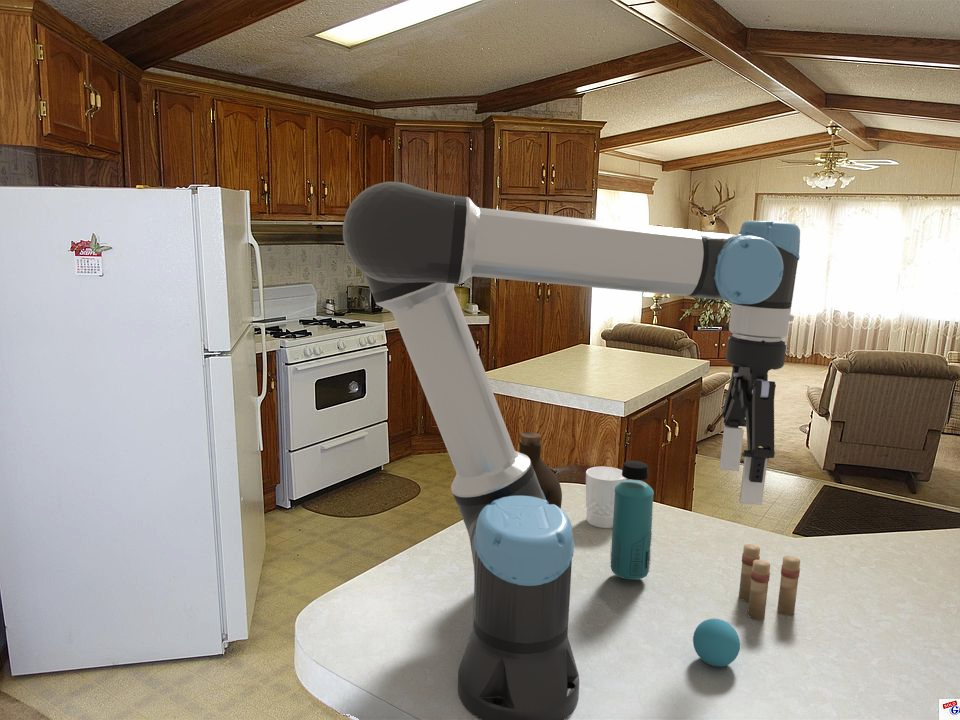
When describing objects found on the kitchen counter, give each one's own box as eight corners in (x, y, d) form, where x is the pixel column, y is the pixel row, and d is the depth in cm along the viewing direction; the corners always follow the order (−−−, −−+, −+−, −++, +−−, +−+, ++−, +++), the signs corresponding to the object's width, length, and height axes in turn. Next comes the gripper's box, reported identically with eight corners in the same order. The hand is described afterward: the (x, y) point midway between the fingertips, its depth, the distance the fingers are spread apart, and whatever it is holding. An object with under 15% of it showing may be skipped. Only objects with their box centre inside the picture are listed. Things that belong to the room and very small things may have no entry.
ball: (710, 679, 95) (714, 637, 94) (682, 654, 101) (685, 614, 99) (747, 671, 97) (752, 629, 96) (718, 646, 103) (722, 606, 101)
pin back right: (785, 616, 111) (791, 564, 109) (773, 608, 113) (778, 556, 112) (798, 613, 112) (804, 561, 110) (786, 605, 114) (792, 554, 113)
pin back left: (745, 602, 115) (750, 552, 113) (734, 594, 117) (739, 545, 115) (758, 600, 116) (764, 549, 114) (747, 592, 118) (752, 542, 116)
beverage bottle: (649, 590, 118) (658, 471, 114) (607, 585, 119) (614, 467, 115) (648, 572, 124) (657, 458, 120) (608, 567, 125) (615, 455, 121)
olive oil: (566, 577, 121) (574, 431, 117) (542, 606, 112) (549, 449, 107) (508, 562, 126) (513, 421, 121) (480, 589, 117) (484, 438, 112)
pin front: (755, 621, 109) (760, 568, 108) (743, 612, 112) (748, 560, 110) (768, 618, 110) (774, 565, 109) (757, 609, 113) (762, 558, 111)
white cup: (614, 533, 139) (617, 483, 137) (576, 523, 143) (579, 474, 141) (630, 519, 146) (633, 471, 144) (593, 510, 150) (596, 463, 148)
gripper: (816, 354, 87) (792, 522, 91) (763, 326, 111) (746, 460, 115) (750, 350, 88) (730, 516, 92) (712, 322, 112) (697, 455, 116)
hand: (738, 485), depth 104 cm, fingers open, 13 cm apart
